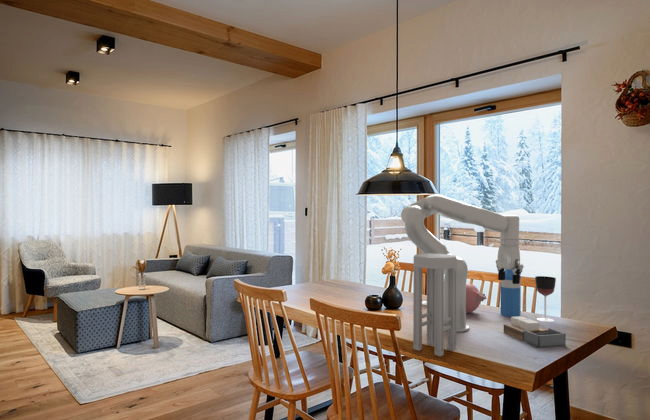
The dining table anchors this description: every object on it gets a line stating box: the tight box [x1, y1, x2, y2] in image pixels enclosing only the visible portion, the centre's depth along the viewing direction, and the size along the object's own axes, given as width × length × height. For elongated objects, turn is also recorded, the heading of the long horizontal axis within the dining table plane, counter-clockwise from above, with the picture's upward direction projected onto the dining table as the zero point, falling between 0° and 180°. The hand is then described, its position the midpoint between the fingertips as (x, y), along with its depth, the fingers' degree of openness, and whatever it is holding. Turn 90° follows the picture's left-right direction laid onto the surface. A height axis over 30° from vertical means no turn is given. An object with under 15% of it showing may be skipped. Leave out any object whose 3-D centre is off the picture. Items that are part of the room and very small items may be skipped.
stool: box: [412, 253, 458, 357], centre depth 162 cm, size 16×16×35 cm
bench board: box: [503, 323, 548, 342], centre depth 180 cm, size 12×12×4 cm
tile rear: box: [510, 315, 530, 327], centre depth 183 cm, size 5×5×3 cm
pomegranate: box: [466, 281, 487, 314], centre depth 218 cm, size 15×20×15 cm
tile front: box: [520, 319, 540, 331], centre depth 178 cm, size 5×5×3 cm
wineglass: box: [534, 275, 557, 323], centre depth 206 cm, size 8×9×20 cm
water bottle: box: [500, 269, 522, 318], centre depth 216 cm, size 9×9×25 cm
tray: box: [522, 327, 567, 349], centre depth 170 cm, size 12×8×4 cm
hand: (508, 281), depth 192 cm, fingers open, 9 cm apart
